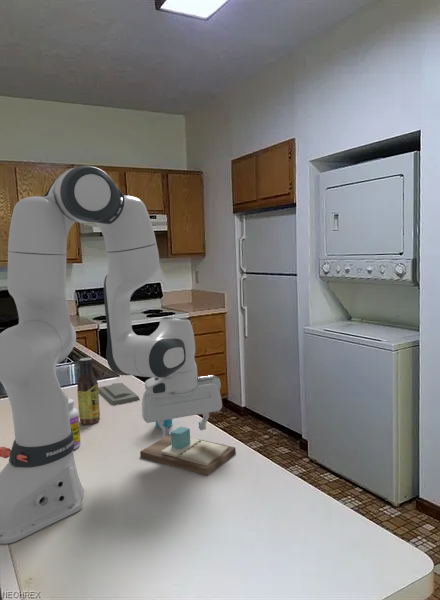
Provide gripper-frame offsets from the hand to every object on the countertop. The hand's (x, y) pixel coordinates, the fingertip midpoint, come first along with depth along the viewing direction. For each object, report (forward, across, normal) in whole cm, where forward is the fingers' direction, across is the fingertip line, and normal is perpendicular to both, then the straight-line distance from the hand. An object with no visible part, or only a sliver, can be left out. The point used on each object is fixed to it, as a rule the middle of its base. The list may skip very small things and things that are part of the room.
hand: (184, 432), depth 118 cm
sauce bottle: (+5, +24, -33) cm, 41 cm away
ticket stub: (+4, +1, -1) cm, 4 cm away
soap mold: (+6, +14, -56) cm, 58 cm away
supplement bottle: (+5, +29, -16) cm, 34 cm away
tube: (+6, +2, -21) cm, 22 cm away
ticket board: (+6, 0, +1) cm, 6 cm away
